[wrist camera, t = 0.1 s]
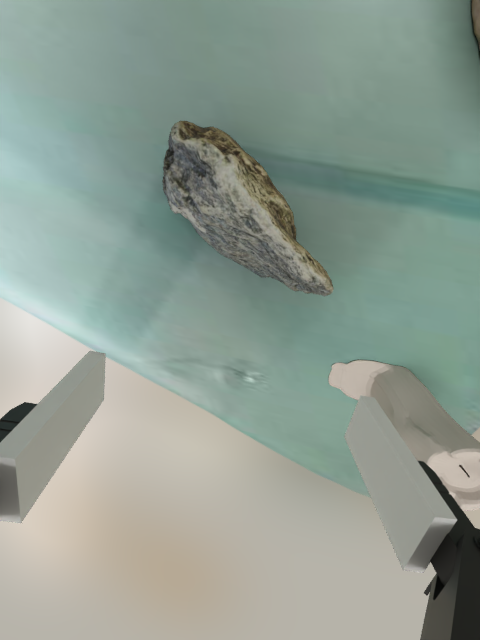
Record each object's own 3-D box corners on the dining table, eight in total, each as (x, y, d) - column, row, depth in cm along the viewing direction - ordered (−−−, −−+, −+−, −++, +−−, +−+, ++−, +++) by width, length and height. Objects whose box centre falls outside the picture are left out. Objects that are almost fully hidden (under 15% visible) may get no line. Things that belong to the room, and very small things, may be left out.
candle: (336, 352, 46) (401, 456, 28) (422, 370, 48) (539, 481, 29) (321, 392, 49) (371, 511, 30) (403, 408, 50) (500, 532, 32)
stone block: (165, 197, 39) (96, 196, 20) (209, 134, 36) (178, 66, 17) (273, 289, 43) (300, 358, 24) (320, 238, 40) (389, 272, 22)
